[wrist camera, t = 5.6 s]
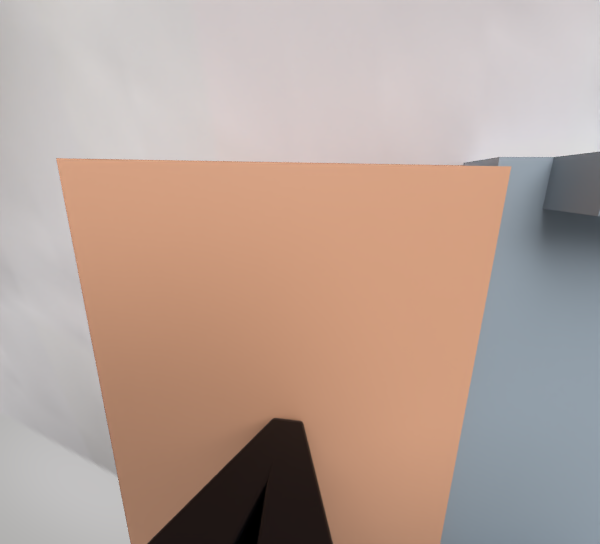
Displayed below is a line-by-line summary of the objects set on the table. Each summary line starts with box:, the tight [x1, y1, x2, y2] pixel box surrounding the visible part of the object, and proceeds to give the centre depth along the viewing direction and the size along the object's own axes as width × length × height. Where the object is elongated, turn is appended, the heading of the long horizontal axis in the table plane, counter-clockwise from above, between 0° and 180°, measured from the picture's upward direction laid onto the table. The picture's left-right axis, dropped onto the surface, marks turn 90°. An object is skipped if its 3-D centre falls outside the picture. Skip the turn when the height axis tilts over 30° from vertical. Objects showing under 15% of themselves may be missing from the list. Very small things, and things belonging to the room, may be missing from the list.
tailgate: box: [56, 158, 511, 544], centre depth 8 cm, size 1×12×8 cm
